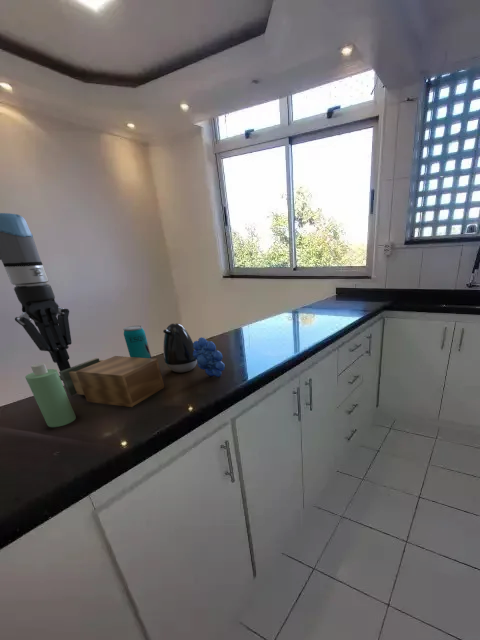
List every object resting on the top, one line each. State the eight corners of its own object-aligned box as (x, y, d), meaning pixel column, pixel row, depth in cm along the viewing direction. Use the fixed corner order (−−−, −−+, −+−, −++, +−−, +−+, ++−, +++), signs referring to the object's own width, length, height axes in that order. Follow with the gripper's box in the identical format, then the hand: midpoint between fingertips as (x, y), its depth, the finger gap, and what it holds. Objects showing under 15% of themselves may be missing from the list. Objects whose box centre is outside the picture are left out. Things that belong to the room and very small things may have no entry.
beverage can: (156, 375, 98) (144, 327, 91) (136, 379, 95) (122, 330, 89) (154, 369, 102) (142, 324, 96) (135, 373, 100) (121, 327, 93)
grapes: (187, 378, 95) (179, 339, 89) (203, 370, 100) (196, 334, 95) (215, 384, 89) (208, 343, 84) (231, 376, 95) (225, 337, 89)
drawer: (56, 393, 85) (46, 370, 82) (92, 378, 95) (84, 357, 92) (107, 400, 80) (98, 375, 77) (139, 383, 90) (133, 360, 87)
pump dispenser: (160, 374, 98) (148, 326, 91) (179, 363, 107) (169, 319, 100) (188, 376, 96) (178, 327, 89) (205, 365, 105) (197, 319, 98)
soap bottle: (41, 425, 71) (14, 368, 65) (64, 414, 76) (41, 359, 70) (59, 428, 70) (33, 370, 63) (81, 416, 74) (59, 361, 68)
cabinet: (87, 401, 82) (75, 371, 78) (123, 383, 93) (115, 355, 89) (131, 407, 78) (121, 375, 74) (164, 387, 89) (157, 358, 85)
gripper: (14, 287, 72) (54, 381, 82) (66, 281, 83) (95, 365, 93) (-8, 288, 74) (33, 379, 84) (46, 282, 85) (76, 363, 95)
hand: (66, 372), depth 89 cm, fingers closed
